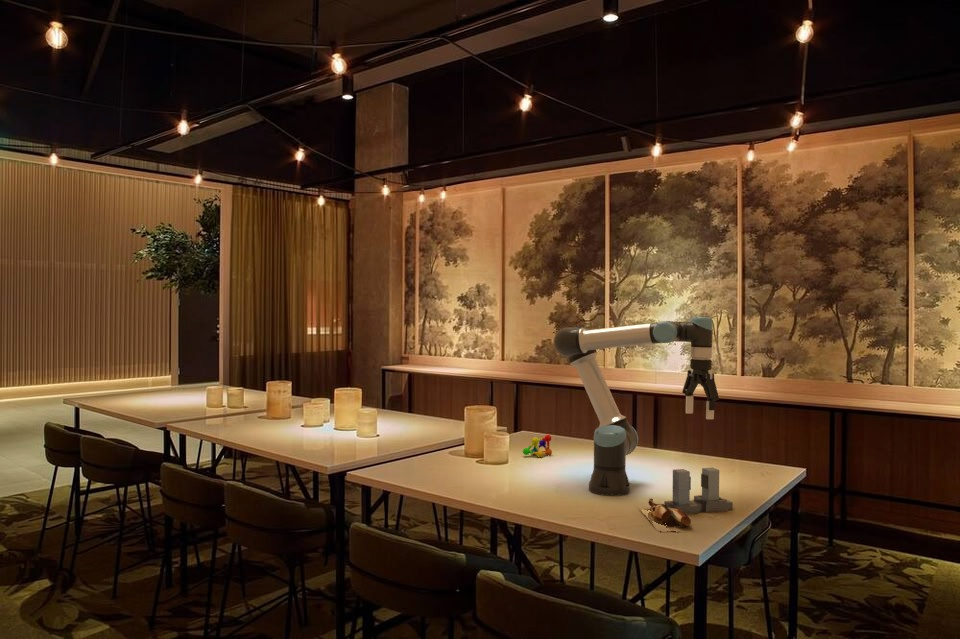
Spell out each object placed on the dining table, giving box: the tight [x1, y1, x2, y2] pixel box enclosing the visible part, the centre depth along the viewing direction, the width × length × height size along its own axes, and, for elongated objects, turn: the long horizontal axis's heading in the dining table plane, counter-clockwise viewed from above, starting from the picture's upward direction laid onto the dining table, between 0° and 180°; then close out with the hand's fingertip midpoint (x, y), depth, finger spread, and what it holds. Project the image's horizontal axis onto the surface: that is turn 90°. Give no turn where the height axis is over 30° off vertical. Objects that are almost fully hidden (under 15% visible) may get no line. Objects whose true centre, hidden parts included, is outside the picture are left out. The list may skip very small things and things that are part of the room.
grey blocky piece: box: [663, 468, 734, 515], centre depth 230 cm, size 22×8×14 cm, turn 104°
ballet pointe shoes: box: [644, 497, 692, 533], centre depth 219 cm, size 14×7×28 cm
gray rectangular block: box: [700, 467, 720, 501], centre depth 231 cm, size 5×4×11 cm
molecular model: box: [522, 434, 553, 458], centre depth 317 cm, size 11×10×15 cm
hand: (699, 416), depth 252 cm, fingers open, 13 cm apart
